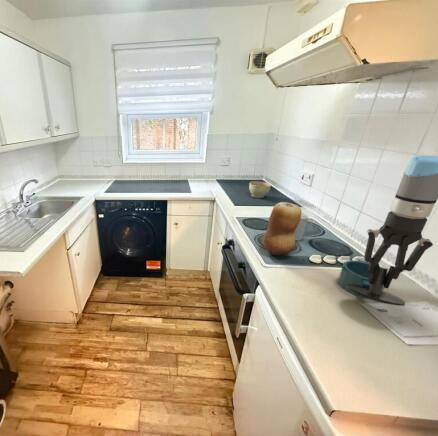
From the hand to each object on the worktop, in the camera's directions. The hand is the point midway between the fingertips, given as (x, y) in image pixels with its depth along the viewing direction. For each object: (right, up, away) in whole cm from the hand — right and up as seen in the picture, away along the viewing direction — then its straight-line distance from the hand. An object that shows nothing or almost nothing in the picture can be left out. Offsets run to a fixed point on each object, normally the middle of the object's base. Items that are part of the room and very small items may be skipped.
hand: (377, 283), depth 74 cm
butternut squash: (-10, +4, +40) cm, 42 cm away
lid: (0, -4, +1) cm, 4 cm away
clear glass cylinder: (+8, +11, +56) cm, 58 cm away
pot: (+8, -6, +16) cm, 19 cm away
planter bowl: (+19, +38, +122) cm, 129 cm away
